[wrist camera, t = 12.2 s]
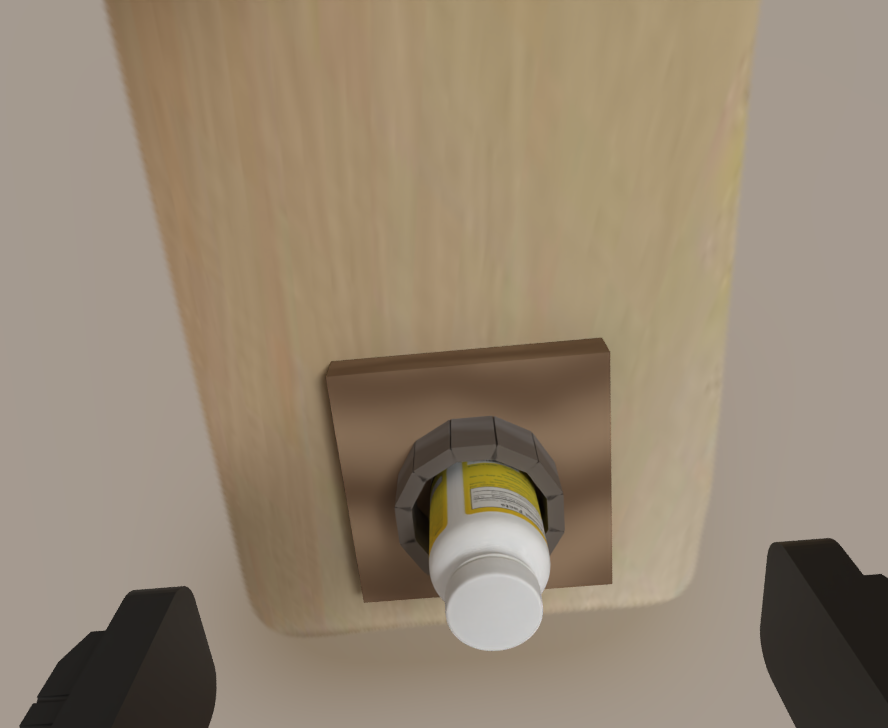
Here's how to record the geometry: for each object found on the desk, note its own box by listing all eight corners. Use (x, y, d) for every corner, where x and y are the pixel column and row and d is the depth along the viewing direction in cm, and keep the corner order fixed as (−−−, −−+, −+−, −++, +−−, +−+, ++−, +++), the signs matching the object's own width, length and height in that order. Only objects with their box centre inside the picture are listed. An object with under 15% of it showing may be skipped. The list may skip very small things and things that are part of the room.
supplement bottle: (463, 543, 41) (468, 683, 31) (411, 469, 39) (400, 595, 30) (551, 499, 39) (583, 632, 30) (501, 421, 38) (519, 537, 29)
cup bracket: (331, 361, 39) (315, 403, 34) (601, 337, 38) (623, 376, 33) (367, 579, 44) (358, 641, 39) (605, 561, 43) (624, 621, 39)
